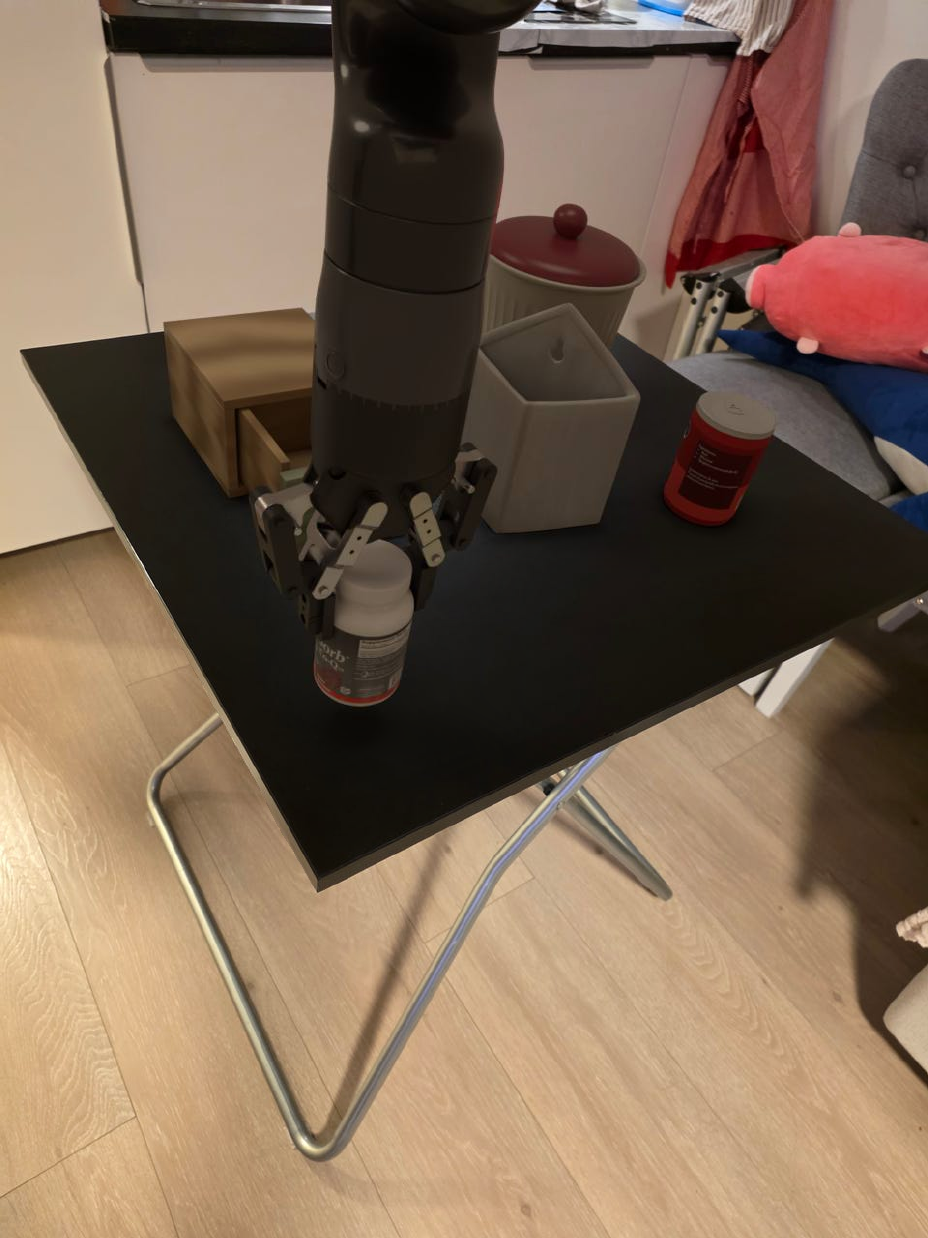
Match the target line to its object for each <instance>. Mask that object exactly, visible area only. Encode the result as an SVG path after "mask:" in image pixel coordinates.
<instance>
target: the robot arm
mask: <svg viewBox="0 0 928 1238" xmlns="http://www.w3.org/2000/svg"><path fill="white" fill-rule="evenodd" d="M543 1H544V0H330V20H331V21H330V22H331V46H332V47H331V49H332V50H331V51H332V67H333V81H334V82H333V84H334V86H333V87H334V92H333V93H334V94H333V95H334V96H333V98H334V99H333V113H332V125H331V136H330V143H329V151H328V158H327V159H328V161H327V173H326V199H325V200H326V201H325V219H324V220H325V221H324V222H325V223H324V242H323V243H324V244H323V254H322V264H321V269H320V275H319V279H318V286H317V291H316V297H315V307H314V308H315V309H314V320H315V328H314V354H313V378H312V402H311V427H310V434H311V446H312V459H311V462H310V465H309V467H308V469H307V471H306V472H305V474H304V476H303V479H302V483H301V484H298V485H296V486H293V487H290V488H287V489H284V490H282V491H279V492H276V493H273V492H272V490H271V489H270V488H269V487H268V486H265V485H261V486H257V487H255V488H254V489H253V490H252V491H251V492H250V494H248V502H249V507H250V510H251V515H252V519H253V524H254V528H255V533H256V538H257V542H258V545H259V546H258V547H259V550H260V551H259V552H260V556H261V560H262V564H263V569H264V570H265V572H266V573H267V575H268V576H269V577H270V578H271V579H272V581H273V582H274V583H275V585H276V587H277V588H278V590H279V593H280V594H281V596H282V597H283V599H285V600H287V601H292V600H295V599H297V598H298V599H297V602H298V603H297V617H298V618H299V620H300V621H301V623H302V624H303V627H304V628H305V629H306V631H307V632H308V633H309V636H311V637H313V636H315V638H316V637H317V639H318V640H319V641H320V642H322V641H325V640H328V639H331V638H332V637H333V627H334V614H335V602H336V595H335V593H334V592H333V590H334V588H335V586H336V584H337V582H338V581H339V579H340V577H341V575H342V573H343V571H344V570H345V569H346V568H352V567H353V566H354V565H355V563H356V561H357V559H358V557H359V556H360V554H361V552H362V550H363V548H364V546H365V545H366V544H369V543H373V542H375V541H377V540H382V539H384V538H383V537H385V538H387V537H386V536H388V537H400V536H403V535H404V536H405V539H406V540H407V542H408V543H409V545H408V546H405V547H403V549H402V551H404V552H405V554H406V555H407V556H408V558H409V559H410V562H411V565H412V574H411V581H410V586H409V588H410V590H411V592H412V595H413V599H414V610H413V613H414V612H418V611H420V610H424V609H425V608H426V604H427V601H428V600H430V598H431V596H432V594H433V592H434V587H435V580H436V578H437V577H436V575H437V570H438V566H439V565H440V564H441V563H442V562H443V561H444V559H445V557H446V554H447V553H448V552H450V551H452V550H453V549H454V550H455V551H457V552H463V551H465V550H466V549H467V548H469V546H470V545H471V543H472V541H473V538H474V535H475V533H476V530H477V527H478V525H479V522H480V520H481V518H482V517H481V514H482V512H483V509H484V506H485V504H486V501H487V498H488V496H489V493H490V490H491V488H492V485H493V482H494V480H495V477H496V474H497V467H496V466H495V465H494V464H493V463H492V462H491V461H490V460H489V459H488V458H487V457H486V456H485V455H484V454H483V453H482V452H481V451H479V450H478V449H477V448H476V447H475V446H474V445H473V444H472V443H470V442H467V443H464V444H463V445H461V440H462V435H463V429H464V424H465V419H466V413H467V408H468V403H469V398H470V392H471V387H472V382H473V377H474V371H475V366H476V361H477V355H478V350H479V345H480V339H481V333H482V327H483V315H484V294H485V283H486V273H487V269H488V264H489V258H490V253H491V247H492V242H493V236H494V231H495V225H496V223H497V219H498V214H499V208H500V205H501V204H500V203H501V198H502V192H503V191H502V190H503V185H504V174H505V145H504V139H503V135H502V131H501V128H500V125H499V121H498V117H497V111H496V105H495V83H496V76H497V75H496V74H497V66H498V57H499V50H500V42H501V41H500V39H501V33H502V32H501V31H503V30H505V29H509V28H510V27H512V26H514V25H515V24H518V23H519V22H521V21H522V20H524V19H525V18H526V17H528V16H529V15H530V14H531V13H533V11H535V10H536V9H537V8H538V7H539V5H541V3H542V2H543ZM441 494H442V495H441ZM440 495H441V498H440V501H439V504H438V507H437V510H436V512H435V513H434V510H433V508H434V503H436V501H437V500H438V498H439V497H440ZM312 507H314V508H315V509H316V510H315V512H314V514H313V516H312V518H311V520H310V522H309V524H308V527H307V541H306V543H305V545H304V547H303V549H302V551H301V553H300V555H299V557H298V551H297V546H296V540H295V536H299V535H300V534H301V533H302V529H301V525H302V523H303V516H304V514H305V512H306V511H307V510H308V509H310V508H312ZM457 515H458V519H457V520H456V518H457ZM335 530H336V531H337V532H338V533H339V534H340V535H341V536H342V539H341V540H340V538H339V537H338V536H337V534H336V533H335Z"/></svg>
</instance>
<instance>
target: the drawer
mask: <svg viewBox="0 0 928 1238" xmlns="http://www.w3.org/2000/svg"><path fill="white" fill-rule="evenodd" d="M311 402H312V396H308V397H302V398H296V399H290V400H284V401H278V402H272V403H266V404H260V405H254V406H248V407H242V408H236V409H235V430H236V451H237V473H238V476H239V477H240V478H241V480H242V481H243V483H244V484H245V485H246V487H247V488H248V490H249V491H250V492H251V491H252V490H253V489H254V488H255V487H257V486H261V485H265V486H268V487H269V488H270V489H271V490H272V492H273V493H276V492H279V491H282V490H284V489H287V488H290V487H293V486H296V485H298V484H301V483H302V479H303V476H304V474H305V472H306V471H307V469H308V467H309V465H310V462H311V459H312V446H311V434H310V427H311ZM315 510H316V509H315V508H314V507H312V508H310V509H308V510H307V511H306V512H305V514H304V516H303V523H302V525H301V529H302V533H301V534H300V535H299V536H295V540H296V546H297V551H298V557H299V555H300V553H301V551H302V549H303V547H304V545H305V543H306V541H307V527H308V524H309V522H310V520H311V518H312V516H313V514H314V512H315ZM335 533H336V534H337V536H338V537H339V538H340V540H341V539H342V536H341V535H340V534H339V533H338V532H337V531H336V530H335ZM388 537H389V536H386V537H383V538H382V539H384V538H388Z"/></svg>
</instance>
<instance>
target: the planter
mask: <svg viewBox="0 0 928 1238" xmlns="http://www.w3.org/2000/svg"><path fill="white" fill-rule="evenodd" d="M558 341H562V342H563V347H562V352H563V359H562V360H561V361H556V360H555V359H554V358H552V351H553V350H554V349H555V348H556V347H557V345H558ZM640 402H641V395H640V392H639V390H638V389H637V388H636V386H635V385H634V383H633V382H632V380H631V379H630V378H629V376H628V375H627V373H626V372H625V370H624V369H623V368H622V366H621V365H620V363H619V361H617V359H616V358H615V357H614V356H613V354H612V352H611V351H610V350H608V349H607V348H606V346H605V345H604V344H603V342H602V341H601V340H600V338H599V337H598V336H597V335H596V333H595V332H594V331H593V329H592V328H591V327H590V325H589V324H588V323H587V321H586V320H585V319H584V318H583V316H582V315H581V314H580V312H579V311H578V310H577V309H576V308H575V306H574V305H573V304H571V303H565V304H562V305H559V306H556V307H553V308H550V309H547V310H545V311H542V312H539V313H536V314H534V315H531V316H528V317H525V318H522V319H520V320H517V321H514V322H511V323H509V324H506V325H503V326H501V327H499V328H496V329H494V330H491V331H489V332H486V333H484V334H481V339H480V345H479V350H478V355H477V361H476V366H475V371H474V377H473V382H472V387H471V392H470V398H469V403H468V408H467V413H466V419H465V424H464V429H463V435H462V440H461V445H463V444H464V443H467V442H470V443H472V444H473V445H474V446H475V447H476V448H477V449H478V450H479V451H481V452H482V453H483V454H484V455H485V456H486V457H487V458H488V459H489V460H490V461H491V462H492V463H493V464H494V465H495V466H496V467H497V474H496V477H495V480H494V482H493V485H492V488H491V490H490V493H489V496H488V498H487V501H486V504H485V506H484V509H483V512H482V514H481V517H480V518H482V519H483V520H484V522H485V523H486V524H487V525H488V527H489V528H490V529H491V530H492V532H493V533H495V534H512V533H513V534H515V533H516V534H517V533H529V532H539V531H550V530H551V531H552V530H559V529H567V528H575V527H583V526H590V525H596V524H599V523H600V522H601V519H602V516H603V513H604V511H605V507H606V504H607V501H608V498H609V495H610V492H611V489H612V486H613V483H614V481H615V478H616V474H617V471H618V469H619V466H620V463H621V460H622V457H623V454H624V451H625V448H626V446H627V442H628V440H629V435H630V434H631V430H632V427H633V425H634V422H635V419H636V415H637V412H638V409H639V406H640Z"/></svg>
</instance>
